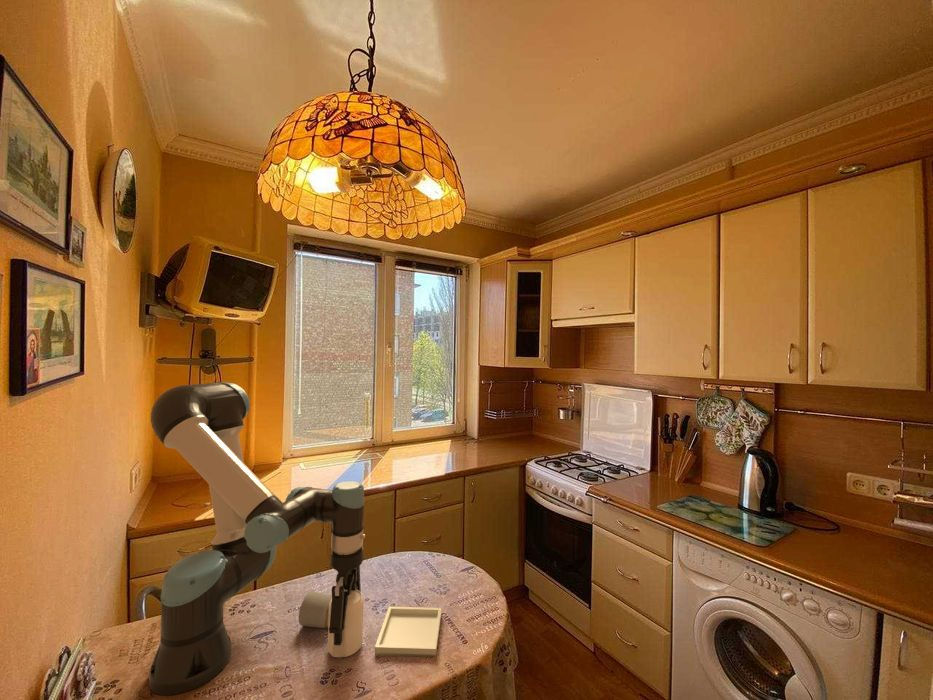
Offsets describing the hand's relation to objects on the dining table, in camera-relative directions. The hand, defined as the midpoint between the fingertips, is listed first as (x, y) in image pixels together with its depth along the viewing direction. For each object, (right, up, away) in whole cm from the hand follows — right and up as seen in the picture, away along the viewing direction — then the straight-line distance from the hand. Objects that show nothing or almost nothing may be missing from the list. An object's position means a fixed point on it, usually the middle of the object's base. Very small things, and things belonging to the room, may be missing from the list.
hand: (345, 641), depth 92 cm
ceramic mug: (-10, -2, +9) cm, 13 cm away
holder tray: (+15, -2, +5) cm, 16 cm away
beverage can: (0, -1, 0) cm, 2 cm away
